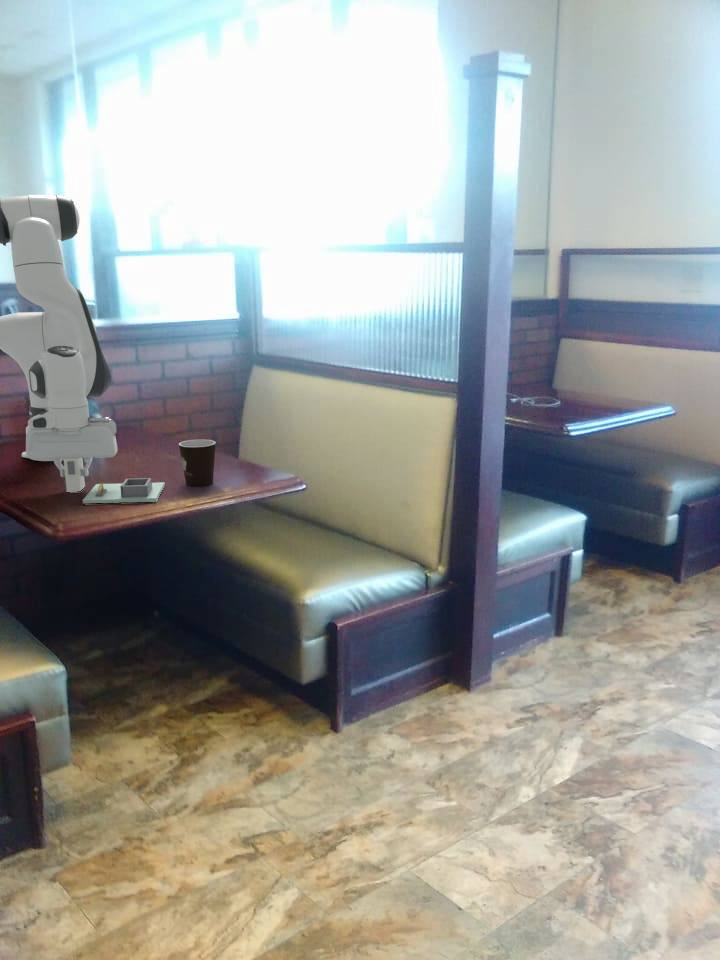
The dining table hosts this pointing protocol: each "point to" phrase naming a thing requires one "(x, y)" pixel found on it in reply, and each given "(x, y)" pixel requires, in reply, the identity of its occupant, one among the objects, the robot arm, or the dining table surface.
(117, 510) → the dining table surface
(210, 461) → the coffee mug
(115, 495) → the board
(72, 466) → the plug
